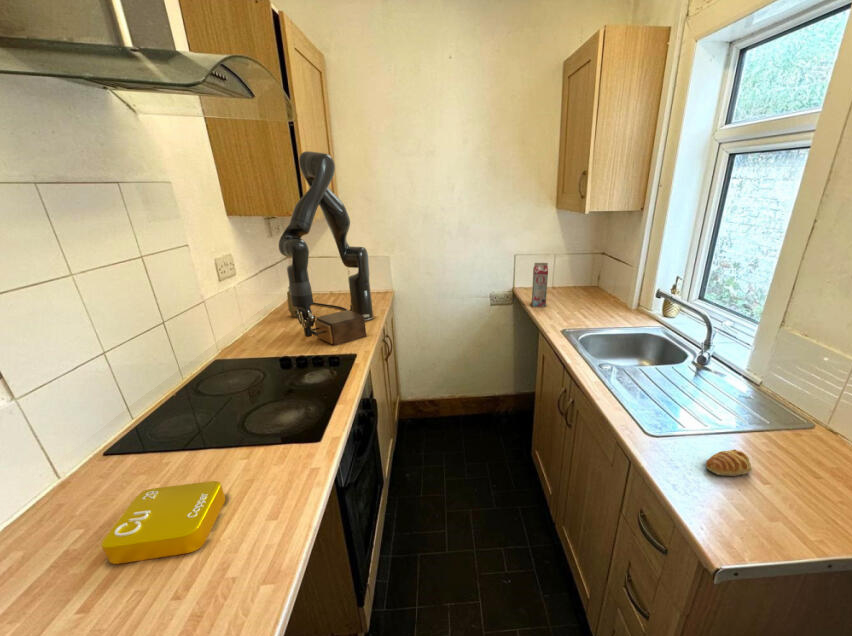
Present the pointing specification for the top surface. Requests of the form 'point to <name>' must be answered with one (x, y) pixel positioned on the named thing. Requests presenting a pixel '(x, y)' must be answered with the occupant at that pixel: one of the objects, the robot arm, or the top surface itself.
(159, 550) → the element tile
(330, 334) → the drawer
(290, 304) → the squeeze bottle
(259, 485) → the top surface
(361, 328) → the cabinet
